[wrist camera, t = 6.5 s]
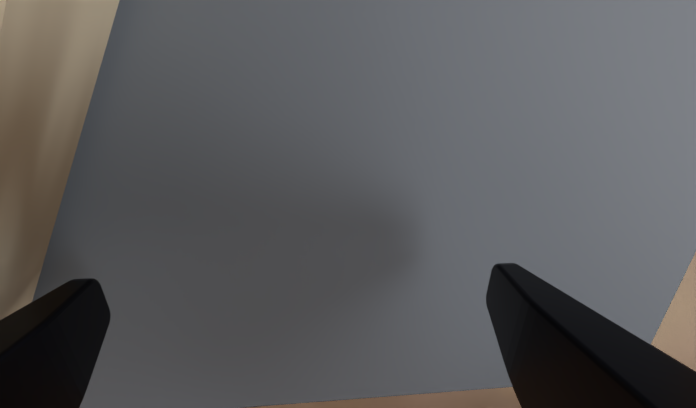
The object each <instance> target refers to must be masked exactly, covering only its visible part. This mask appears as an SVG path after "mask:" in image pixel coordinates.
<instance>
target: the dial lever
mask: <svg viewBox="0 0 696 408" xmlns="http://www.w3.org/2000/svg"><path fill="white" fill-rule="evenodd" d="M119 1H120V0H0V320H1V319H3V318H5V317H7V316H8V315H10V314H12V313H14V312H15V311H17V310H19V309H21V308H22V307H24V306H26V305H28V304H29V303H31V302H32V300H33V297H34V293H35V290H36V286H37V283H38V279H39V276H40V272H41V269H42V266H43V262H44V259H45V255H46V252H47V248H48V245H49V242H50V238H51V235H52V231H53V228H54V224H55V221H56V217H57V214H58V211H59V207H60V204H61V200H62V197H63V193H64V190H65V186H66V183H67V180H68V176H69V173H70V169H71V166H72V162H73V159H74V156H75V152H76V149H77V145H78V142H79V138H80V135H81V131H82V128H83V125H84V121H85V118H86V114H87V111H88V107H89V104H90V101H91V97H92V94H93V90H94V87H95V83H96V80H97V76H98V73H99V70H100V66H101V63H102V59H103V56H104V52H105V49H106V46H107V42H108V39H109V35H110V32H111V28H112V25H113V21H114V18H115V15H116V11H117V8H118V4H119Z"/></svg>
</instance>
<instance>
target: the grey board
mask: <svg viewBox="0 0 696 408" xmlns="http://www.w3.org/2000/svg"><path fill="white" fill-rule="evenodd" d="M695 252H696V0H120V1H119V4H118V8H117V11H116V15H115V18H114V21H113V25H112V28H111V32H110V35H109V39H108V42H107V46H106V49H105V52H104V56H103V59H102V63H101V66H100V70H99V73H98V76H97V80H96V83H95V87H94V90H93V94H92V97H91V101H90V104H89V107H88V111H87V114H86V118H85V121H84V125H83V128H82V131H81V135H80V138H79V142H78V145H77V149H76V152H75V156H74V159H73V162H72V166H71V169H70V173H69V176H68V180H67V183H66V186H65V190H64V193H63V197H62V200H61V204H60V207H59V211H58V214H57V217H56V221H55V224H54V228H53V231H52V235H51V238H50V242H49V245H48V248H47V252H46V255H45V259H44V262H43V266H42V269H41V272H40V276H39V279H38V283H37V286H36V290H35V293H34V297H33V300H32V302H33V301H35V300H36V299H38V298H40V297H42V296H43V295H45V294H47V293H49V292H50V291H52V290H54V289H56V288H57V287H59V286H61V285H63V284H64V283H66V282H68V281H70V280H72V279H82V278H94V279H96V280H98V281H99V282H100V284H101V287H102V290H103V292H104V295H105V298H106V300H107V303H108V306H109V308H110V313H111V318H110V323H109V327H108V329H107V332H106V335H105V338H104V341H103V344H102V347H101V350H100V353H99V356H98V359H97V362H96V365H95V367H94V370H93V373H92V376H91V379H90V382H89V385H88V388H87V390H86V393H85V396H84V398H83V401H82V403H81V405H80V407H79V408H244V407H257V406H270V405H283V404H296V403H309V402H322V401H335V400H347V399H360V398H373V397H386V396H399V395H412V394H425V393H438V392H451V391H464V390H477V389H490V388H503V387H513V386H512V384H511V381H510V379H509V376H508V373H507V370H506V367H505V364H504V361H503V358H502V354H501V351H500V348H499V345H498V341H497V338H496V335H495V332H494V328H493V325H492V322H491V319H490V315H489V312H488V309H487V305H486V293H487V288H488V284H489V279H490V275H491V270H492V268H493V266H494V265H495V264H497V263H516V264H518V265H520V266H521V267H523V268H525V269H526V270H528V271H529V272H531V273H533V274H534V275H536V276H538V277H539V278H541V279H543V280H544V281H546V282H548V283H549V284H551V285H553V286H554V287H556V288H558V289H559V290H561V291H563V292H564V293H566V294H568V295H569V296H571V297H573V298H574V299H576V300H578V301H579V302H581V303H583V304H584V305H586V306H588V307H589V308H591V309H593V310H594V311H596V312H597V313H599V314H601V315H602V316H604V317H606V318H607V319H609V320H611V321H612V322H614V323H616V324H617V325H619V326H621V327H622V328H624V329H626V330H627V331H629V332H631V333H632V334H634V335H636V336H637V337H639V338H641V339H642V340H644V341H646V342H647V343H649V344H651V342H652V340H653V338H654V336H655V334H656V332H657V330H658V328H659V326H660V324H661V322H662V320H663V318H664V316H665V314H666V312H667V310H668V307H669V305H670V303H671V301H672V299H673V297H674V295H675V293H676V291H677V289H678V287H679V285H680V283H681V281H682V279H683V277H684V275H685V273H686V270H687V268H688V266H689V264H690V262H691V260H692V258H693V256H694V254H695Z"/></svg>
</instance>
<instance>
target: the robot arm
mask: <svg viewBox="0 0 696 408" xmlns="http://www.w3.org/2000/svg"><path fill="white" fill-rule="evenodd" d="M486 305H487V309H488V312H489V315H490V319H491V322H492V325H493V328H494V332H495V335H496V338H497V341H498V345H499V348H500V351H501V354H502V358H503V361H504V364H505V367H506V370H507V373H508V376H509V379H510V381H511V384H512V386H513V389H514V391H515V393H516V396H517V398H518V400H519V403H520V405H521V407H522V408H696V372H695V371H694V370H692V369H690V368H689V367H687V366H685V365H684V364H682V363H680V362H679V361H677V360H675V359H674V358H672V357H670V356H669V355H667V354H666V353H664V352H662V351H661V350H659V349H657V348H656V347H654V346H652V345H651V344H649V343H647V342H646V341H644V340H642V339H641V338H639V337H637V336H636V335H634V334H632V333H631V332H629V331H627V330H626V329H624V328H622V327H621V326H619V325H617V324H616V323H614V322H612V321H611V320H609V319H607V318H606V317H604V316H602V315H601V314H599V313H597V312H596V311H594V310H593V309H591V308H589V307H588V306H586V305H584V304H583V303H581V302H579V301H578V300H576V299H574V298H573V297H571V296H569V295H568V294H566V293H564V292H563V291H561V290H559V289H558V288H556V287H554V286H553V285H551V284H549V283H548V282H546V281H544V280H543V279H541V278H539V277H538V276H536V275H534V274H533V273H531V272H529V271H528V270H526V269H525V268H523V267H521V266H520V265H518V264H516V263H497V264H495V265H494V266H493V268H492V270H491V275H490V279H489V284H488V288H487V293H486ZM110 318H111V313H110V308H109V306H108V303H107V300H106V298H105V295H104V292H103V290H102V287H101V284H100V282H99V281H98V280H96V279H94V278H82V279H72V280H70V281H68V282H66V283H64V284H63V285H61V286H59V287H57V288H56V289H54V290H52V291H50V292H49V293H47V294H45V295H43V296H42V297H40V298H38V299H36V300H35V301H33V302H31V303H29V304H28V305H26V306H24V307H22V308H21V309H19V310H17V311H15V312H14V313H12V314H10V315H8V316H7V317H5V318H3V319H1V320H0V408H79V407H80V405H81V403H82V401H83V398H84V396H85V393H86V390H87V388H88V385H89V382H90V379H91V376H92V373H93V370H94V367H95V365H96V362H97V359H98V356H99V353H100V350H101V347H102V344H103V341H104V338H105V335H106V332H107V329H108V327H109V323H110Z"/></svg>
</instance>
